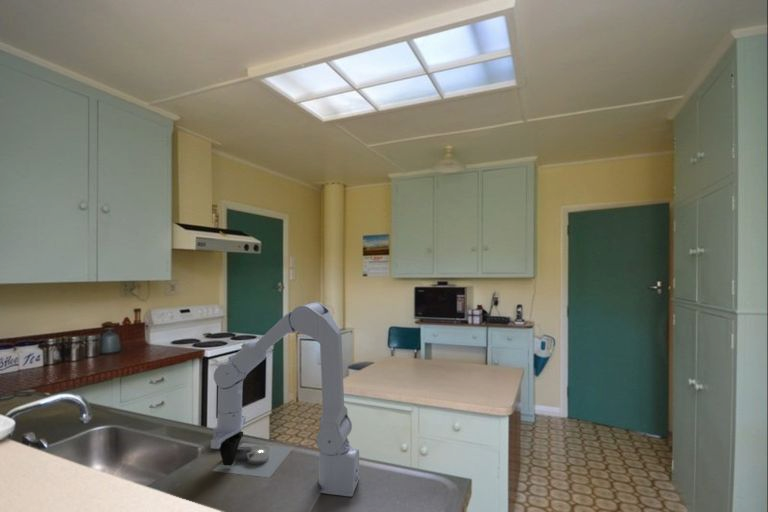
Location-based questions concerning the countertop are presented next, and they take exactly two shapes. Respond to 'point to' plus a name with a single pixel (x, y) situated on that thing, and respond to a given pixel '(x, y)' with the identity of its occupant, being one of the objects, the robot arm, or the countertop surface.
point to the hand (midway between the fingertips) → (228, 463)
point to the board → (262, 470)
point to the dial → (253, 454)
